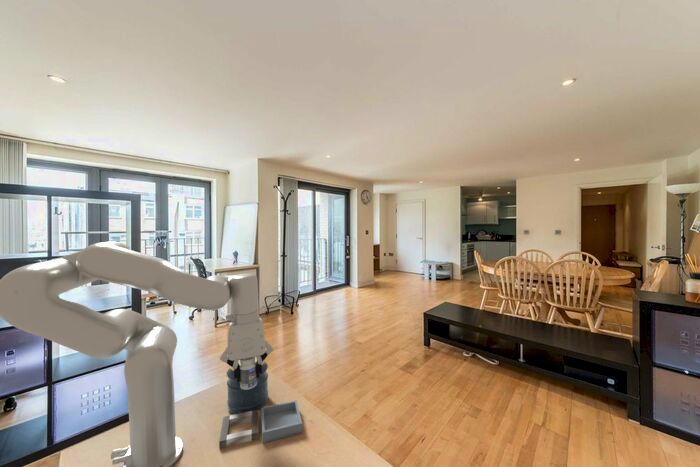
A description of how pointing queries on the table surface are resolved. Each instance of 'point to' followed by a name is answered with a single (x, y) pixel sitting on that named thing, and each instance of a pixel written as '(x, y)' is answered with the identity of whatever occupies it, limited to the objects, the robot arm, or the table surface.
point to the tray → (280, 421)
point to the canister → (247, 392)
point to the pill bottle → (248, 373)
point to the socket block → (240, 436)
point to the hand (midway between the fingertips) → (248, 377)
